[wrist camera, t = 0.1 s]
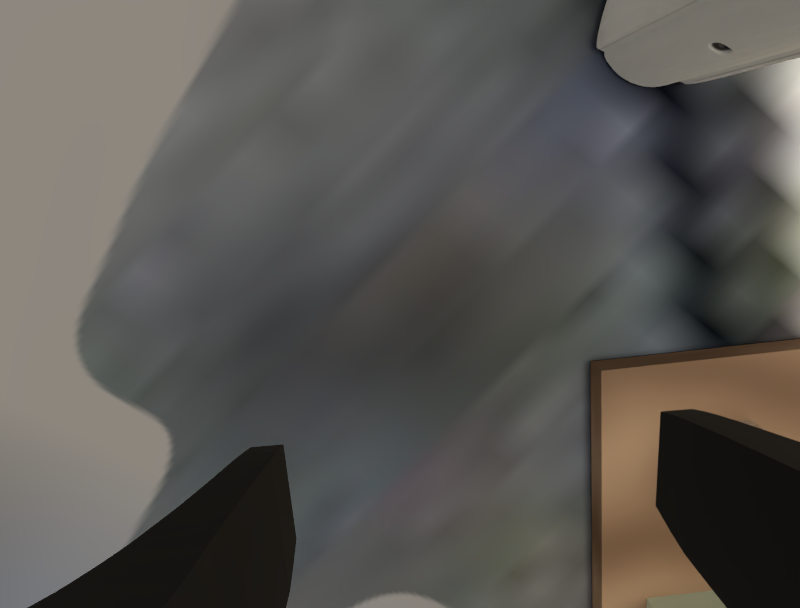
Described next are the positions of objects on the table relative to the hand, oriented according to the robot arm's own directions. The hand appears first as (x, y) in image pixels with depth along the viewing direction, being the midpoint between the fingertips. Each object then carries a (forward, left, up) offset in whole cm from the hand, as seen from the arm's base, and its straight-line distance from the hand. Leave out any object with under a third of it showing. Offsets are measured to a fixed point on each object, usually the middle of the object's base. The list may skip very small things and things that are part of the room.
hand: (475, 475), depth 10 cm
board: (-11, -11, -10) cm, 18 cm away
